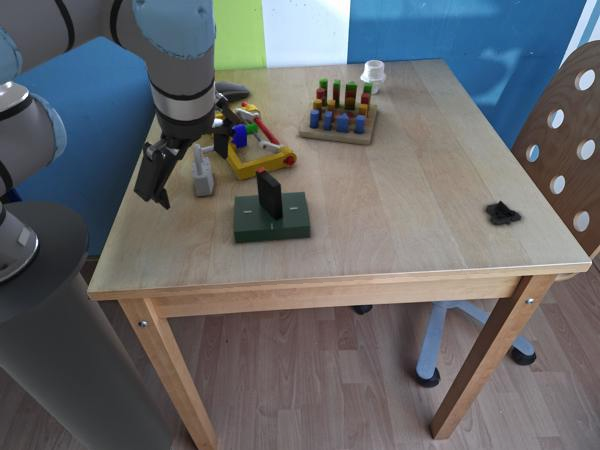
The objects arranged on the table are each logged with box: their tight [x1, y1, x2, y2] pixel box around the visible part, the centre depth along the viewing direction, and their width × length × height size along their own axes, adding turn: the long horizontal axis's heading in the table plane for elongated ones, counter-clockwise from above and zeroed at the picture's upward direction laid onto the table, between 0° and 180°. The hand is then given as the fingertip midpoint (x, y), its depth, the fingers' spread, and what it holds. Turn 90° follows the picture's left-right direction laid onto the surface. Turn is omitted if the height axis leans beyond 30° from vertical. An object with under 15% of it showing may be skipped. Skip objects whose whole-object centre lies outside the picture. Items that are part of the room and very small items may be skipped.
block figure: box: [485, 200, 522, 226], centre depth 82 cm, size 6×2×6 cm
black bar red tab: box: [255, 167, 283, 220], centre depth 78 cm, size 6×2×8 cm, turn 35°
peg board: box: [298, 77, 378, 146], centre depth 106 cm, size 18×17×9 cm
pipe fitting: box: [360, 59, 387, 95], centre depth 118 cm, size 6×7×8 cm
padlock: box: [190, 143, 215, 197], centre depth 88 cm, size 7×4×10 cm, turn 8°
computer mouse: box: [215, 80, 250, 103], centre depth 119 cm, size 7×12×4 cm, turn 112°
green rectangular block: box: [233, 191, 311, 244], centre depth 82 cm, size 14×10×3 cm
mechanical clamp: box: [201, 101, 298, 181], centre depth 100 cm, size 18×6×30 cm
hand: (192, 177), depth 72 cm, fingers open, 13 cm apart
